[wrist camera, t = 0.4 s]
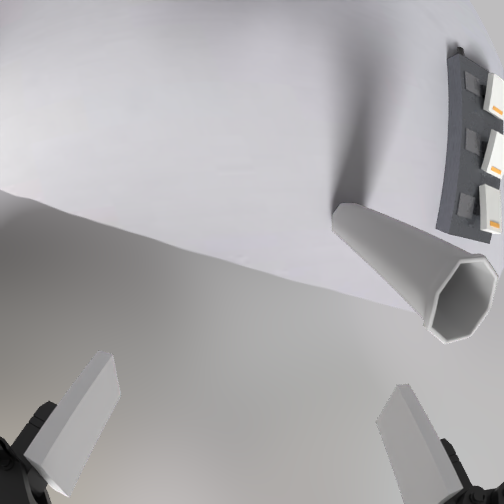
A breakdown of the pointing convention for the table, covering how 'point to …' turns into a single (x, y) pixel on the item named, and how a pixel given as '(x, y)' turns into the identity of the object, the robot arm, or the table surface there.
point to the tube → (422, 270)
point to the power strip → (466, 150)
